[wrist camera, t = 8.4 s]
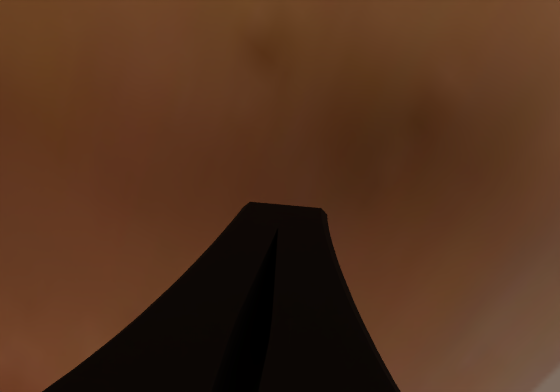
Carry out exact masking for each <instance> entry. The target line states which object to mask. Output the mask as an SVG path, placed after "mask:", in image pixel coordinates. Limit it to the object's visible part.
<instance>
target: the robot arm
mask: <svg viewBox="0 0 560 392" xmlns="http://www.w3.org/2000/svg"><path fill="white" fill-rule="evenodd" d="M42 392H400V390H399V388H398V387H397V385H396V383H395V382H394V380H393V378H392V376H391V375H390V373H389V371H388V369H387V367H386V366H385V364H384V362H383V360H382V358H381V356H380V354H379V352H378V351H377V349H376V347H375V345H374V343H373V341H372V339H371V337H370V335H369V333H368V331H367V329H366V327H365V325H364V323H363V321H362V318H361V316H360V314H359V312H358V310H357V307H356V305H355V303H354V301H353V298H352V296H351V293H350V291H349V288H348V286H347V284H346V281H345V279H344V276H343V274H342V271H341V268H340V266H339V263H338V260H337V257H336V254H335V250H334V247H333V244H332V240H331V237H330V232H329V227H328V221H327V214H326V213H325V212H324V211H323V210H322V209H321V208H313V207H301V206H290V205H279V204H268V203H257V202H249V203H248V204H247V205H245V206H244V207H243V208H242V209H241V211H240V212H239V213H238V214H237V216H236V217H235V218H234V219H233V220H232V222H231V223H230V224H229V225H228V226H227V228H226V229H225V230H224V231H223V232H222V233H221V235H220V236H219V237H218V238H217V239H216V240H215V241H214V242H213V243H212V245H211V246H210V247H209V248H208V249H207V250H206V251H205V252H204V253H203V254H202V255H201V256H200V257H199V258H198V259H197V260H196V262H195V263H194V264H193V265H192V266H191V267H190V268H189V269H188V270H187V271H186V272H185V273H184V274H183V275H182V276H181V277H180V278H179V279H178V280H177V281H176V282H175V283H174V284H173V285H172V286H171V287H170V288H169V289H167V290H166V291H165V292H164V293H163V294H162V295H161V296H160V297H159V298H158V299H157V300H156V301H155V302H153V303H152V304H151V305H150V306H149V307H148V308H147V309H146V310H145V311H144V312H143V313H142V314H141V315H139V316H138V317H137V318H136V319H135V320H134V321H133V322H131V323H130V324H129V325H128V326H127V327H125V328H124V329H123V330H122V331H121V332H120V333H118V334H117V335H116V336H115V337H114V338H112V339H111V340H110V341H109V342H107V343H106V344H105V345H104V346H102V347H101V348H100V349H99V350H97V351H96V352H95V353H94V354H92V355H91V356H90V357H88V358H87V359H86V360H85V361H83V362H82V363H81V364H79V365H78V366H77V367H75V368H74V369H73V370H71V371H70V372H69V373H67V374H66V375H64V376H63V377H62V378H60V379H59V380H58V381H56V382H55V383H53V384H52V385H51V386H49V387H48V388H46V389H45V390H44V391H42Z"/></svg>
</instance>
